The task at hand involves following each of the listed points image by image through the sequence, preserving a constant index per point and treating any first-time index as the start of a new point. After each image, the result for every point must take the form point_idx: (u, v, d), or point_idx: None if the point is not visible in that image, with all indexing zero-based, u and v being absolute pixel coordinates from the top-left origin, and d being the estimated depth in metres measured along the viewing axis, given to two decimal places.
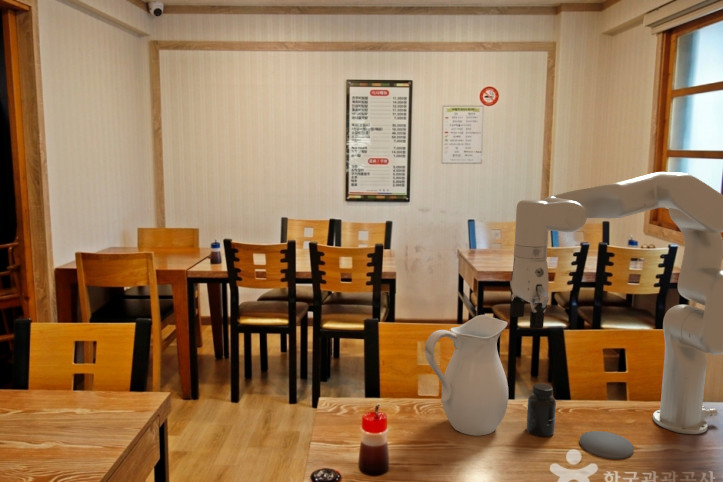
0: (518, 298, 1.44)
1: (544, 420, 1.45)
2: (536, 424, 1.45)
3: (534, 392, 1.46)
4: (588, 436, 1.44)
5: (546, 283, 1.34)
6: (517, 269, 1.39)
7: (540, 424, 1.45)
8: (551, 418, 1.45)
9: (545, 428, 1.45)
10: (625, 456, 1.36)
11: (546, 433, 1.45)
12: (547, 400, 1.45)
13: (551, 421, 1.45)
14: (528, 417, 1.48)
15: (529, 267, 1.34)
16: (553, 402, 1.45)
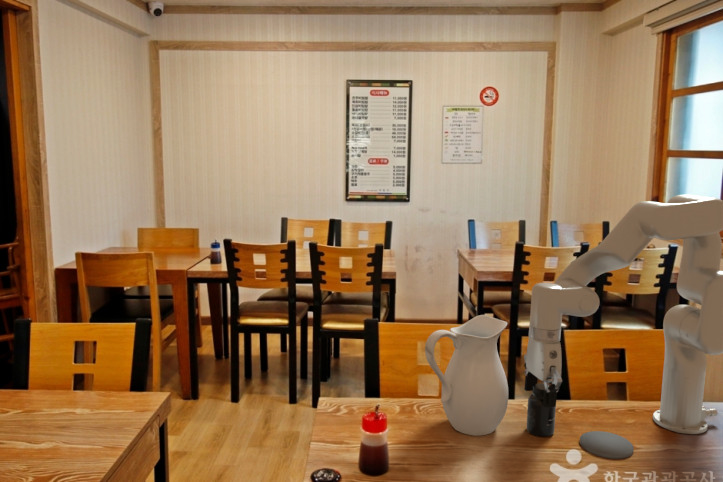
0: (531, 373, 1.51)
1: (544, 420, 1.45)
2: (536, 424, 1.45)
3: (534, 392, 1.46)
4: (588, 436, 1.44)
5: (559, 364, 1.41)
6: (531, 348, 1.46)
7: (540, 424, 1.45)
8: (551, 418, 1.45)
9: (545, 428, 1.45)
10: (625, 456, 1.36)
11: (546, 433, 1.45)
12: None
13: (551, 421, 1.45)
14: (528, 417, 1.48)
15: (543, 349, 1.41)
16: None
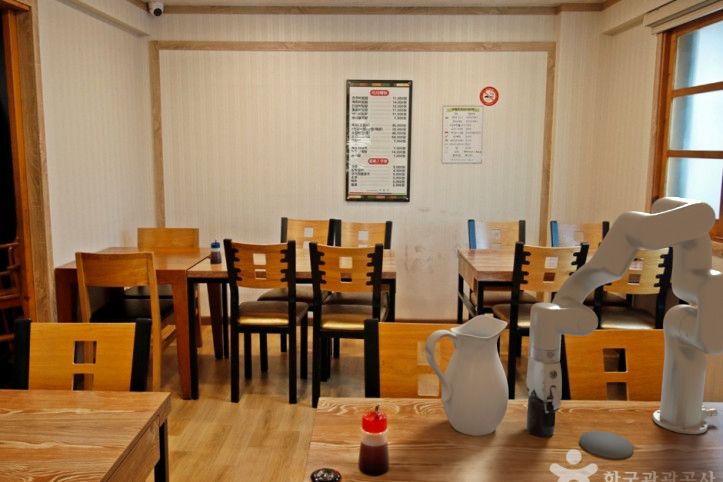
0: None
1: None
2: (536, 424, 1.45)
3: (534, 392, 1.46)
4: (588, 436, 1.44)
5: (559, 384, 1.42)
6: (531, 367, 1.47)
7: (540, 424, 1.45)
8: None
9: (545, 428, 1.45)
10: (625, 456, 1.36)
11: (546, 433, 1.45)
12: None
13: None
14: (528, 417, 1.48)
15: (543, 369, 1.42)
16: None
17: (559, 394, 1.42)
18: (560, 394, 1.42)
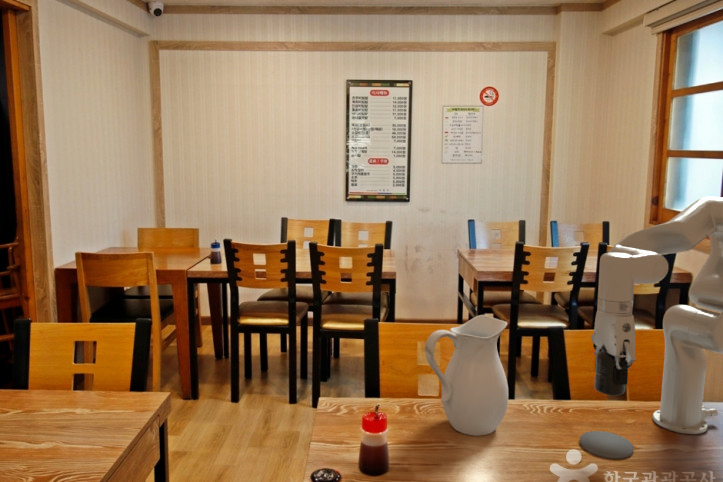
0: None
1: None
2: (607, 382, 1.36)
3: (604, 348, 1.37)
4: (588, 436, 1.44)
5: (633, 338, 1.33)
6: (600, 322, 1.38)
7: (611, 381, 1.36)
8: None
9: (616, 386, 1.36)
10: (625, 456, 1.36)
11: (617, 391, 1.36)
12: None
13: None
14: (597, 375, 1.38)
15: (616, 322, 1.32)
16: None
17: (633, 349, 1.33)
18: (634, 349, 1.33)
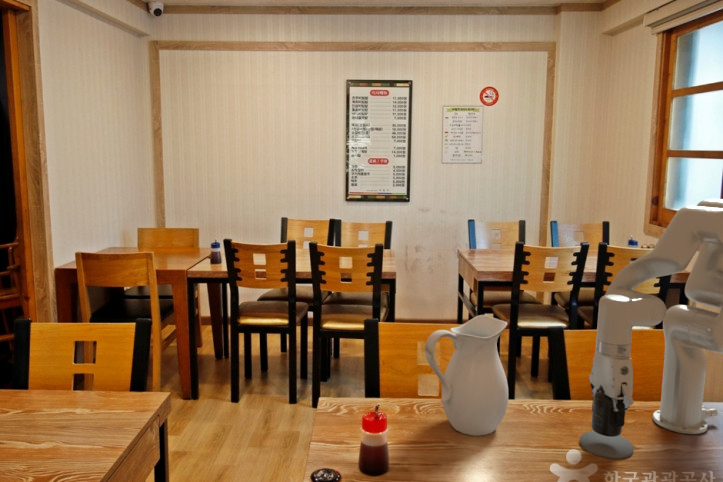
0: None
1: None
2: (604, 423, 1.37)
3: (601, 389, 1.38)
4: (588, 436, 1.44)
5: (631, 381, 1.34)
6: (598, 363, 1.39)
7: (608, 423, 1.37)
8: None
9: (613, 428, 1.37)
10: (625, 456, 1.36)
11: (614, 433, 1.37)
12: None
13: None
14: (594, 416, 1.39)
15: (614, 365, 1.34)
16: None
17: (630, 391, 1.34)
18: (631, 391, 1.34)
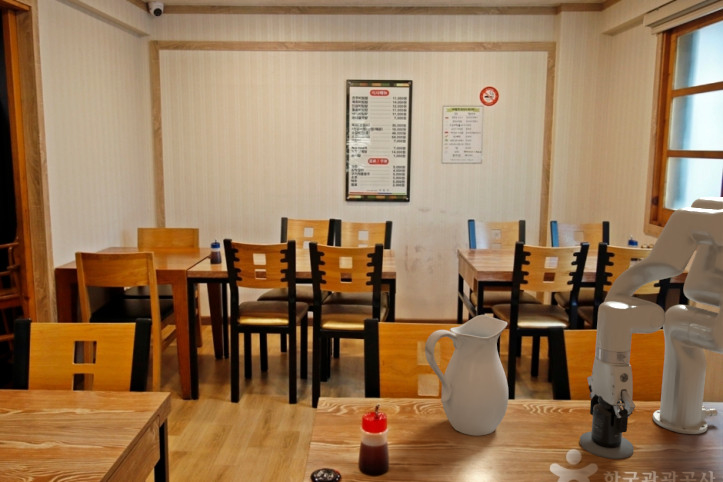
0: (597, 396, 1.44)
1: (612, 431, 1.37)
2: (604, 435, 1.38)
3: (601, 401, 1.39)
4: (588, 436, 1.44)
5: (630, 388, 1.34)
6: (598, 370, 1.39)
7: (608, 435, 1.38)
8: None
9: (613, 439, 1.38)
10: (625, 456, 1.36)
11: (614, 444, 1.38)
12: None
13: None
14: (594, 427, 1.40)
15: (613, 372, 1.34)
16: None
17: None
18: (631, 398, 1.35)
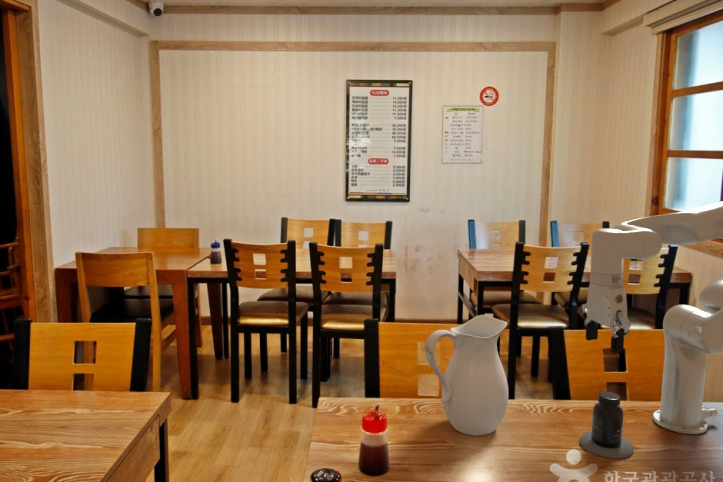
0: (592, 322, 1.50)
1: (612, 431, 1.37)
2: (604, 435, 1.38)
3: (601, 401, 1.39)
4: (588, 436, 1.44)
5: (625, 308, 1.40)
6: (593, 295, 1.45)
7: (608, 435, 1.38)
8: (619, 428, 1.38)
9: (613, 439, 1.38)
10: (625, 456, 1.36)
11: (614, 444, 1.38)
12: (615, 409, 1.38)
13: (619, 431, 1.38)
14: (594, 427, 1.40)
15: (609, 294, 1.40)
16: (621, 412, 1.38)
17: None
18: None
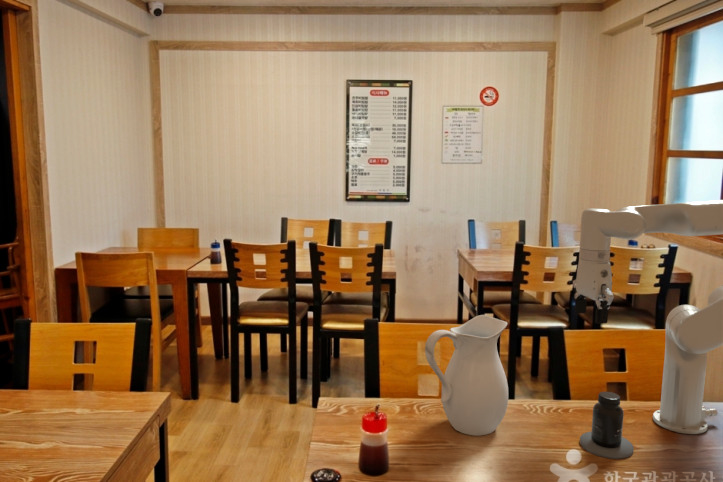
0: (581, 296, 1.61)
1: (612, 430, 1.37)
2: (604, 435, 1.38)
3: (600, 401, 1.39)
4: (588, 436, 1.44)
5: (610, 283, 1.51)
6: (582, 270, 1.56)
7: (608, 434, 1.38)
8: (619, 428, 1.38)
9: (613, 439, 1.38)
10: (625, 456, 1.36)
11: (614, 444, 1.38)
12: (615, 409, 1.38)
13: (619, 431, 1.38)
14: (594, 427, 1.40)
15: (595, 269, 1.50)
16: (621, 412, 1.38)
17: None
18: None
